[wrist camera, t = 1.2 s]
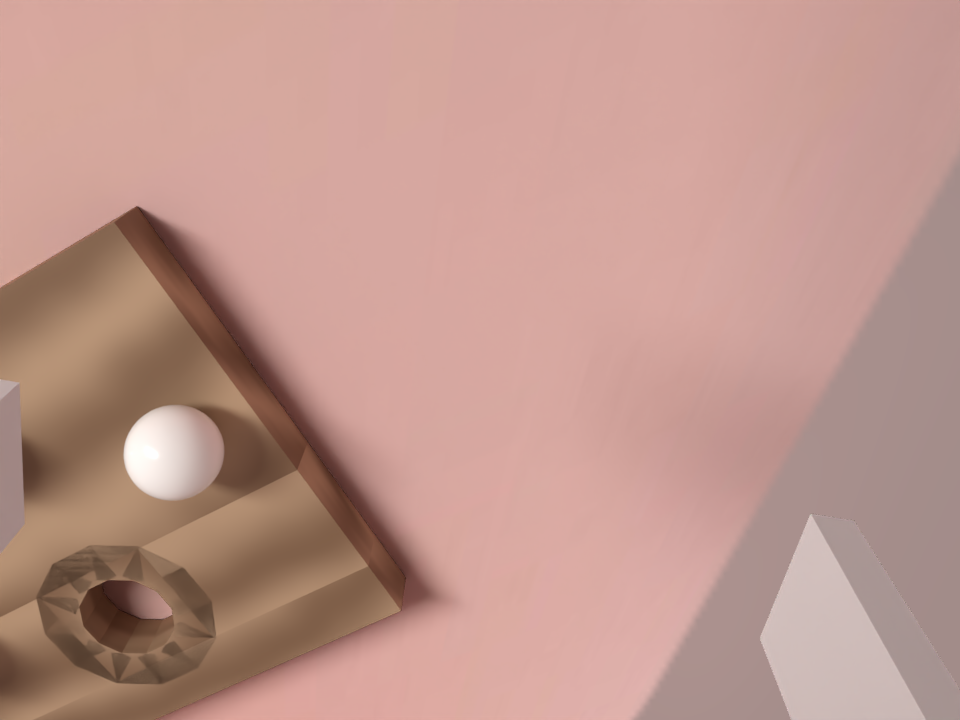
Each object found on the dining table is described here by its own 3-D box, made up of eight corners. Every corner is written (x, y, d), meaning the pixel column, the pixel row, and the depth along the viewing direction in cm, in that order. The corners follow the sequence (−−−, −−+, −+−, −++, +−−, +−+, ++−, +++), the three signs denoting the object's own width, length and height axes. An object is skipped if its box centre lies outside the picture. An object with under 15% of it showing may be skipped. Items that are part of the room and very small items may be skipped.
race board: (-261, 443, 43) (-303, 471, 41) (137, 206, 38) (114, 222, 36) (42, 741, 51) (21, 778, 48) (405, 577, 46) (401, 610, 43)
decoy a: (125, 413, 39) (87, 460, 35) (199, 373, 38) (168, 417, 35) (180, 481, 40) (149, 534, 37) (253, 445, 40) (228, 494, 36)
